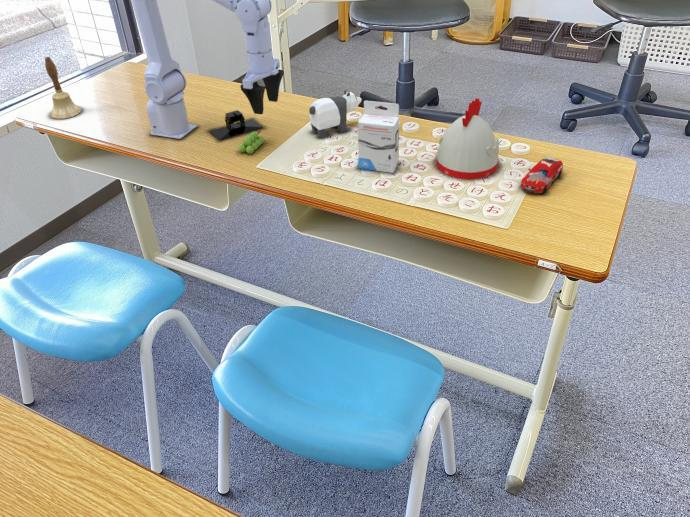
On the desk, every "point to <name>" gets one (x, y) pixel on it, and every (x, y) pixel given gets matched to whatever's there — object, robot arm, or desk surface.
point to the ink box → (379, 137)
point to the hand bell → (60, 95)
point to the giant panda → (332, 112)
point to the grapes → (251, 143)
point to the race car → (542, 175)
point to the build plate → (235, 126)
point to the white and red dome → (468, 147)
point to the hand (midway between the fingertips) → (266, 107)
